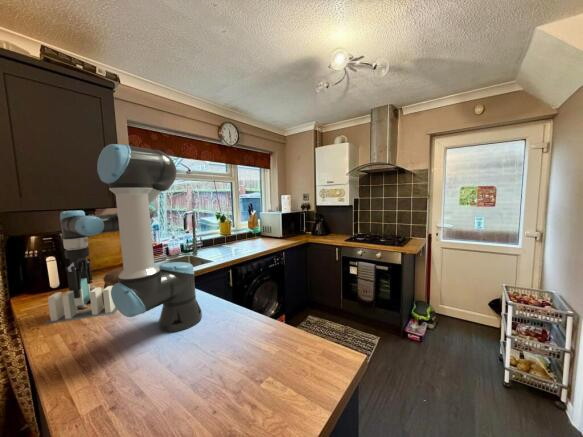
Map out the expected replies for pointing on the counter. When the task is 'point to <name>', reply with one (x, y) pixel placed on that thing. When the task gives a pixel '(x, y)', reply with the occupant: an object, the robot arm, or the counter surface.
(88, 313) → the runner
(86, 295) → the teal domino
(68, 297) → the domino
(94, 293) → the domino
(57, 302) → the domino
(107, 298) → the domino
